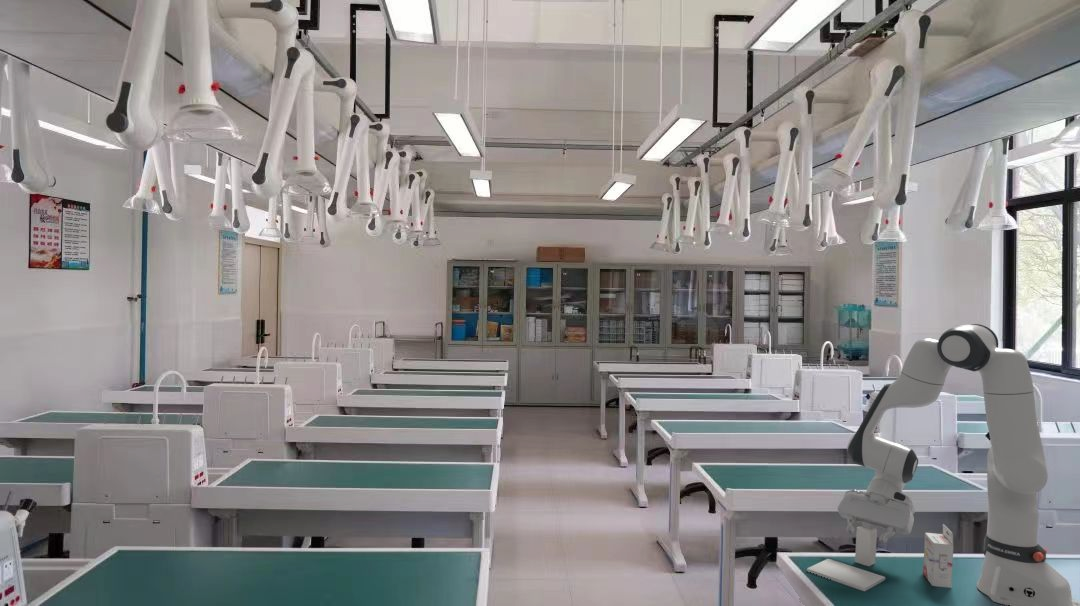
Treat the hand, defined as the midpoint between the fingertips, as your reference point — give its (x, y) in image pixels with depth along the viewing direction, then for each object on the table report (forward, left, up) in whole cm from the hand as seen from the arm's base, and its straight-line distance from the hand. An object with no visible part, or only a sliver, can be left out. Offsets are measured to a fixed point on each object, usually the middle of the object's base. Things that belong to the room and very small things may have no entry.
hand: (865, 536), depth 208 cm
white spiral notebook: (-1, +13, -8) cm, 16 cm away
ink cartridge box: (-18, -4, -8) cm, 20 cm away
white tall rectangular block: (0, -1, -8) cm, 8 cm away
